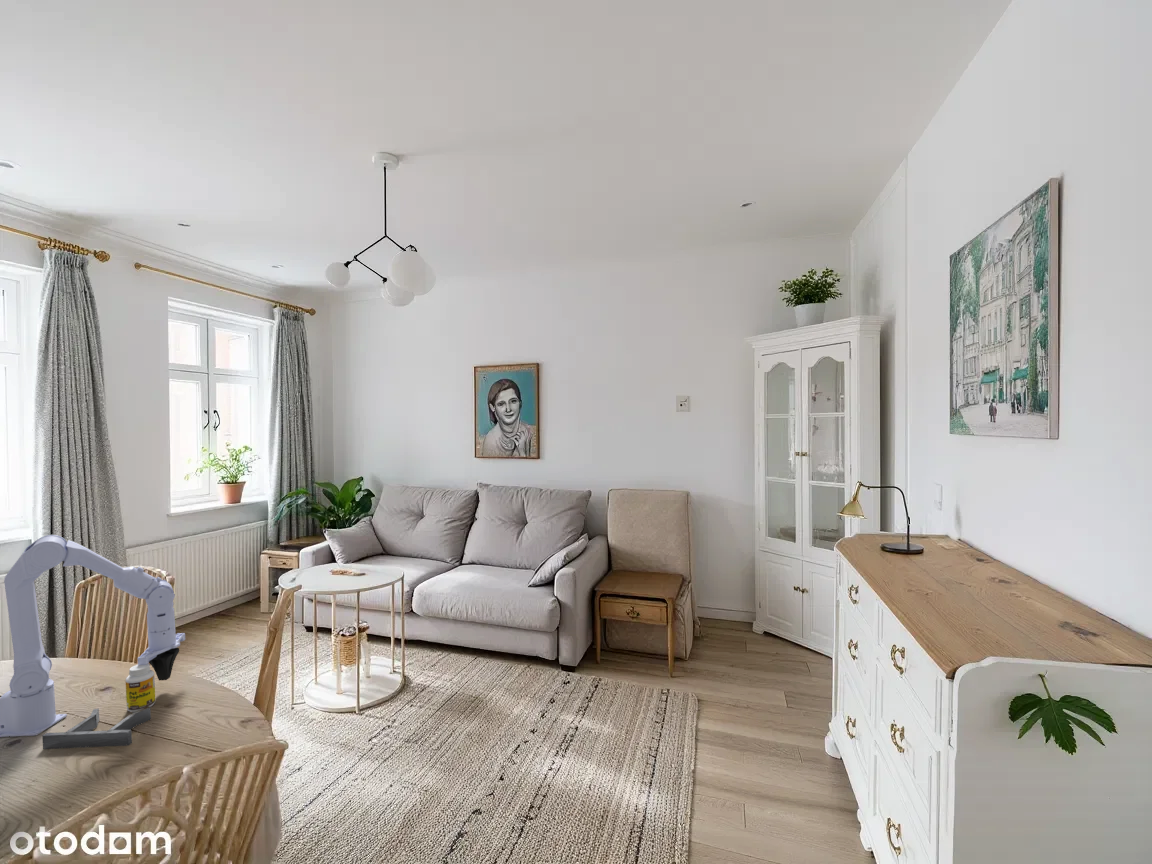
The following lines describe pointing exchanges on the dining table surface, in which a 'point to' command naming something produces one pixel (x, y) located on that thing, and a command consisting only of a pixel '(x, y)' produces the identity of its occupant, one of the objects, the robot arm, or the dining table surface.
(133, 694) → the supplement bottle
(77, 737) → the stop cradle
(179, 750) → the dining table surface
